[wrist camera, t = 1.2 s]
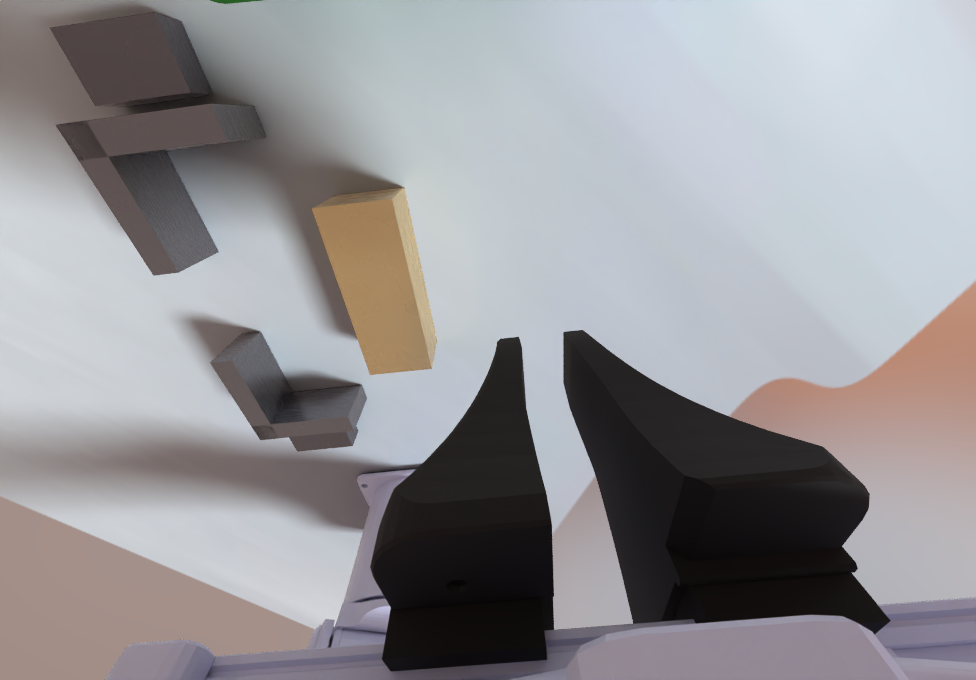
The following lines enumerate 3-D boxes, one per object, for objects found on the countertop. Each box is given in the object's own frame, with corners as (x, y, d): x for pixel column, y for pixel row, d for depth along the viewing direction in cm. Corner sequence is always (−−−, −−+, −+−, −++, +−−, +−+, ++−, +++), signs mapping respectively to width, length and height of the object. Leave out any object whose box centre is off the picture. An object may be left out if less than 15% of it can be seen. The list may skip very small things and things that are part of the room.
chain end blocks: (378, 429, 26) (368, 462, 24) (299, 436, 26) (280, 470, 24) (219, 15, 14) (161, -7, 11) (74, 37, 14) (-13, 19, 12)
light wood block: (437, 338, 22) (431, 368, 20) (383, 344, 23) (370, 374, 20) (405, 186, 18) (391, 198, 15) (336, 194, 18) (311, 208, 15)
